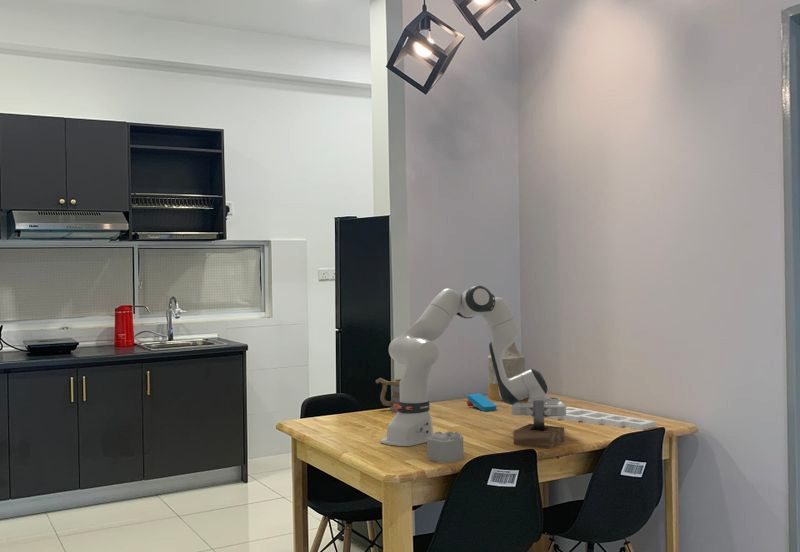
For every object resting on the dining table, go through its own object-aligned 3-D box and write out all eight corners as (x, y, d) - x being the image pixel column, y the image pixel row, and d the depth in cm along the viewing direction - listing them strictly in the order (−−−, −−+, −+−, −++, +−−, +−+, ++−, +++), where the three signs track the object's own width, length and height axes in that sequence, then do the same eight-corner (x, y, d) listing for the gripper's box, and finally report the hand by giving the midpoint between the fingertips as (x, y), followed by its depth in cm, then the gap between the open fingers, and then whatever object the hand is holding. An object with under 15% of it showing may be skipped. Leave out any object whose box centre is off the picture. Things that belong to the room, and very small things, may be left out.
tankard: (420, 408, 353) (420, 376, 353) (414, 413, 341) (413, 380, 341) (380, 406, 359) (379, 375, 359) (372, 411, 347) (371, 379, 347)
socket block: (549, 448, 268) (549, 434, 268) (513, 444, 276) (513, 430, 276) (564, 440, 279) (564, 427, 279) (530, 436, 287) (529, 423, 287)
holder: (655, 428, 301) (655, 421, 301) (627, 434, 290) (627, 427, 290) (569, 412, 337) (569, 406, 337) (541, 417, 326) (541, 411, 326)
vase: (505, 393, 390) (504, 335, 390) (532, 397, 376) (531, 336, 376) (481, 397, 378) (479, 337, 378) (508, 402, 364) (507, 339, 364)
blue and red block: (494, 419, 346) (474, 403, 361) (496, 405, 344) (476, 390, 359) (482, 421, 343) (462, 404, 358) (484, 407, 341) (463, 391, 356)
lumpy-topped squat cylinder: (423, 458, 257) (423, 433, 257) (448, 452, 266) (448, 427, 266) (445, 464, 250) (445, 438, 250) (471, 456, 259) (470, 431, 259)
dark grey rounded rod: (542, 437, 275) (541, 402, 275) (531, 436, 277) (531, 401, 277) (546, 435, 278) (545, 400, 278) (536, 434, 281) (535, 399, 280)
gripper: (511, 398, 292) (510, 404, 279) (565, 398, 288) (566, 405, 275) (512, 414, 292) (510, 421, 279) (565, 415, 289) (566, 422, 275)
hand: (538, 413), depth 277 cm, fingers closed on dark grey rounded rod, 4 cm apart
